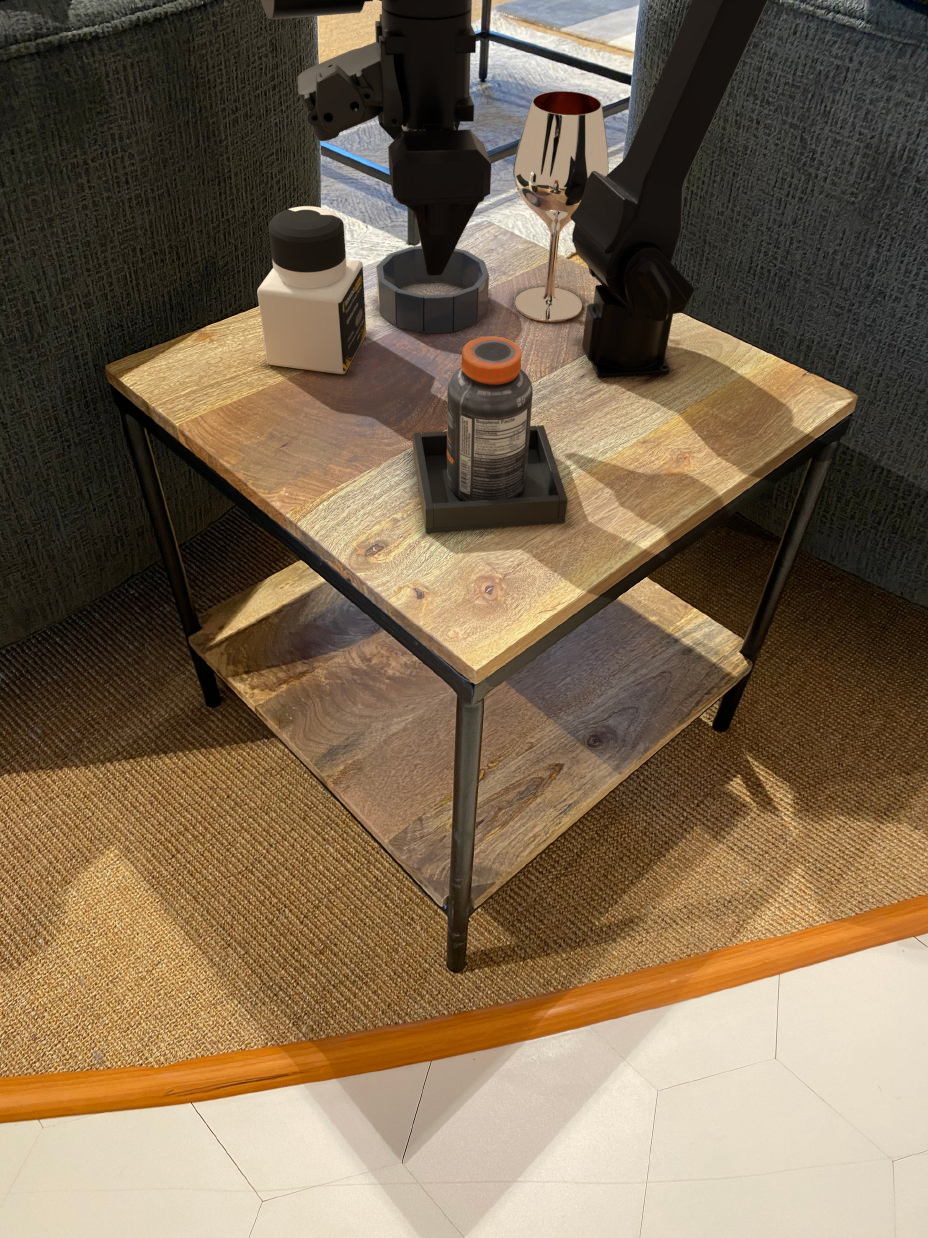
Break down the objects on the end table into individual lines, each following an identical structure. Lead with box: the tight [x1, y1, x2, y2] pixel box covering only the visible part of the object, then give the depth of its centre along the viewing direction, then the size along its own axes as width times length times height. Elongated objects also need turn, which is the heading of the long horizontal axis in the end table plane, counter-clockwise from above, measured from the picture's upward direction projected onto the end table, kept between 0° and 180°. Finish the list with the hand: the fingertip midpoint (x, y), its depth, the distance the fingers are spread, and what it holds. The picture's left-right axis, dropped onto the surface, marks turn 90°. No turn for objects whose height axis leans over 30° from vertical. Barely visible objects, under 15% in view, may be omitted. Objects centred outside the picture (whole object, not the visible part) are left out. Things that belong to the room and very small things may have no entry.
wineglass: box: [512, 90, 609, 323], centre depth 87 cm, size 8×8×18 cm
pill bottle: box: [446, 335, 534, 501], centre depth 70 cm, size 6×6×11 cm
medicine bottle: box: [257, 205, 367, 375], centre depth 83 cm, size 7×7×12 cm
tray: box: [412, 424, 569, 534], centre depth 73 cm, size 10×9×2 cm
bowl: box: [375, 245, 490, 334], centre depth 92 cm, size 10×10×4 cm
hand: (427, 245), depth 74 cm, fingers open, 9 cm apart
